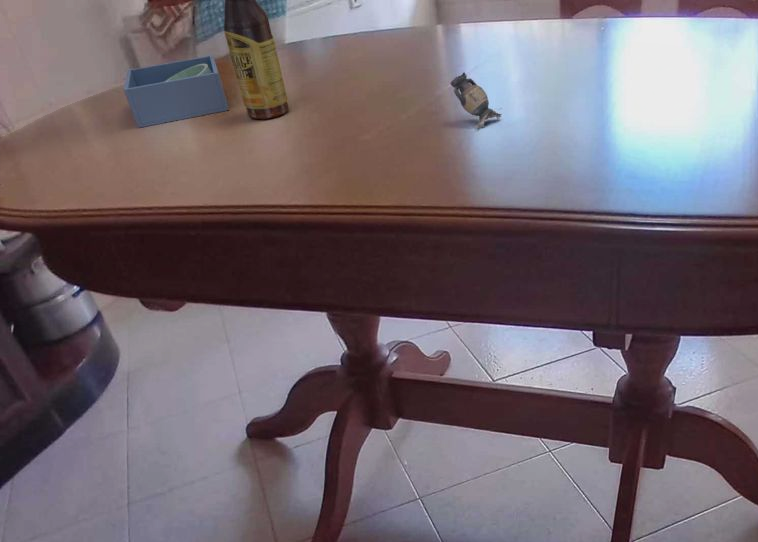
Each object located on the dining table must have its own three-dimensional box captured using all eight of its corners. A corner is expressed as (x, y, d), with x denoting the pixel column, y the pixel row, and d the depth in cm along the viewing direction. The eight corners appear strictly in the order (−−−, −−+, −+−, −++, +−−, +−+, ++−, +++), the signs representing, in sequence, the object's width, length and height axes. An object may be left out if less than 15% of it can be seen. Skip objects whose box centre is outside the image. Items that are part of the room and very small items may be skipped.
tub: (138, 128, 103) (123, 90, 100) (140, 105, 113) (127, 69, 110) (229, 110, 106) (218, 72, 103) (223, 89, 117) (213, 54, 113)
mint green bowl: (166, 116, 106) (154, 99, 104) (165, 100, 112) (154, 84, 111) (219, 88, 106) (208, 71, 104) (216, 75, 113) (205, 58, 111)
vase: (445, 125, 92) (439, 77, 88) (474, 112, 95) (469, 66, 91) (474, 132, 88) (469, 83, 85) (503, 119, 91) (499, 71, 88)
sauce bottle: (240, 116, 103) (195, -36, 91) (278, 104, 106) (238, -44, 95) (261, 124, 99) (216, -34, 87) (299, 112, 102) (261, -42, 90)
